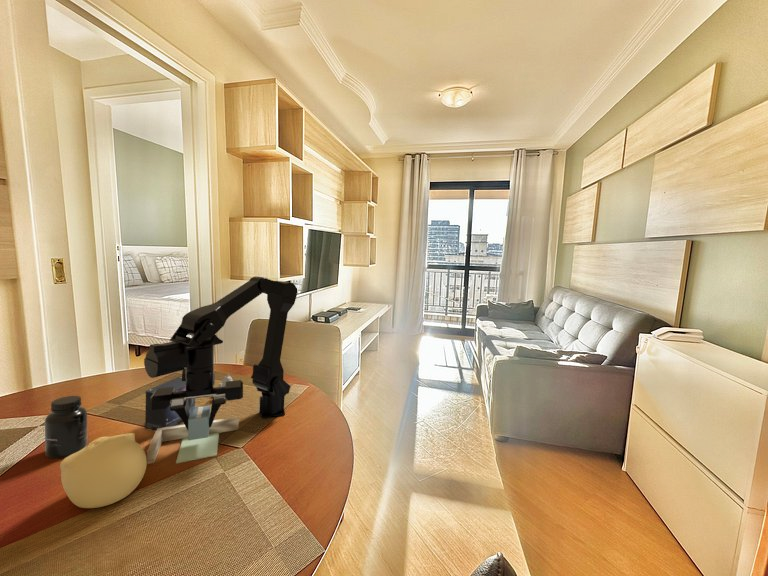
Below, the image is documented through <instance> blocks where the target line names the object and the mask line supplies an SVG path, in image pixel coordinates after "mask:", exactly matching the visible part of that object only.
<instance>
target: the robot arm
mask: <svg viewBox="0 0 768 576" xmlns="http://www.w3.org/2000/svg"><path fill="white" fill-rule="evenodd" d="M262 294H264V295H265V294H266V301H267V304H268V307H269V309H270V310H269V311H270V312H269V317H268V325H267V331H266V335H265V342H264V347H263V348H264V349H263V354H262V358H261V360H260V361H259V362H258V363H256V364H253V366H252V374H251V377H250V379H252V384H253V386H254V387H256V391H258V392H260V393H261V395H260V396H259V398H258V399H259V402H258V405H259V406H258V407H259V408H258V411H259V414H260V415H261V418H262V419H265V418H266V417H267V418H273V417H272V416H274V417H280V416H285V415H286V412H285V411H286V410H285V397H286V395H288V394H289V393H290V391H291V385H290V384H289V383H287V381H285V380H284V371H285V369H284V368H283V364H282V362H281V356H282V350H283V344H284V338H285V331H286V325H287V319H288V314H289V311H291V309H292V308H293V306H294V305H295V303H296V300H297V295H298V287H297V286H296V284H294V283H293V282H289V281H283V280H272V279H270V278H267V277H264V276H253V277H251V278H250V279H248V281H246V282H245V283H244V284H242V285H240V286H238V287H237V288H235V289H234V290H233V291H231V292H230V293H228V294H227V295H225V296H223V297H222V298H220V299H218V300H217V301H216V302H213V303H210V304H207V305H203V306H200V307H197V308H195V309H193V310H192V311H189V312H187V313H185V314H184V316H183V317H182V319H181V323H180V324H179V326H178V327H177V329H176V330H175V332H174V333H173V334H172V336H171V337H170V339H169V342H164V343H163V342H162V343H152V344H150V345H149V350H148V351H147V352H146V353H145V358H144V359H143V360H144V361H143V365H144V369H145V373H146V374H147V375H148V377H149V378H151V379H154V378H158V377H162V376H166V375H170V374H173V373H178V372H180V371H181V378H182V381H186V391H178V392H175V388H174V387H168V388H158V389H156V390H155V391H154V393H153V394H152V396H151V398H150V402H149V409H150V410H157V409H165V408H167V407H168V406H169V405H170V404H171V407H170V411H175V412H176V413H177V414H178V415H179V417H180V418H181V419H182V421H183V422H182V423H183V425H185V426H186V428H187V430H188V419H189V416H190V414H189V406H188V399H192V398H195V399H200V398H208V397H209V398H210V397H212V402H211V406H210V419H209V427H211V425H212V423H213V420H214V419H215V417H216V415H217V413H218V411H219V409H220V408H221V406H222V405H226V403H227V400H228V401H234V400H235V401H237V400H242V399H243V398H244V382H243V381H242V380H241V379H239V380H233V381H227V382H226V386H222V387H218V386H216V387H214V386H215V383H216V382H215V381H216V380H215V379H216V377H215V372H214V371H215V370H214V367H215V364H214V363H215V360H214V359H215V358H214V357H215V356H214V355H215V345H221V344H223V343H224V340H223V339H221V338H219V337H218V335H217V333H218V332H220V330H221V329H223V327H224V326H225V324H226V322H227V320H228V319H229V318H230V317H231V316H232V315H233V314H235V313H237V312H238V311H239V310H241V309H242V308H243V307H245V306H246V305H248V304H249V303H251V302H252V301H253V300H255V299H256V298H257V297H259V296H260V295H262ZM190 336H192V337H190Z"/></svg>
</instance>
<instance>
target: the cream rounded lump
mask: <svg viewBox="0 0 768 576" xmlns="http://www.w3.org/2000/svg"><path fill="white" fill-rule="evenodd" d="M135 436H136V434H135V433H132V432H129V433H124V434H123V433H122V434H118V435H117V434H116V435H113V436H101V437H97V438H95V439H94V440H93V441H91V442H90V443H87V445H86V447H85V448H83V449H82V450H80V451H78V452H76V453H74V454H72V455H70V456H67V457H64V459H63V460H62V461H61V462H60V463H59V467H60V468H59V469H60V471H61V472H60V476H61V477H60V478H61V480H60V481H61V483H62V487H63V490H64V492H65V493H66V495H67V497H68V499H69V500H70V502H72V504H73V505H75V506H76V507H78V508H82V509H95V508H102V507H106V506H109V505H112V504H114V503H116V502H119V501H121V500H123V499H124V498H126V497H127V496H129V495H130V494H131V493H132V492H133V491H135V490H136V488H137V487H139V484H140V483H141V482H142V479H143V478H144V476H145V473H146V470H147V465H148V464H147V454H146V452H145V450H144V448H143V447H142V446H141V445H140V444H139V443H138V442H136V440H135Z"/></svg>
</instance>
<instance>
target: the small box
mask: <svg viewBox="0 0 768 576" xmlns="http://www.w3.org/2000/svg"><path fill="white" fill-rule="evenodd" d="M168 387H174V388H175V392H178V391H186V381H182V377H181V376H180V377H179V376H178V377H175V378H174V379H170V380H169V381H166V382H164V383H162V384H158V385H156V386H155V387H151V388H149V389H146V390H145V415H144V416H145V418H144V419H145V422H144V430H149V431H154V432H156V430H157V428H164V427H171V426H178V425H179V424H180V425H181V424H182V423H183V421H182V419H181V418H180V417H179V415H178V414H177V413H176V412H175V411H170V407H171V404H170V405H169V406H168V407H167V408H165V409H157V410H150V409H149V402H150V398H151V396H152V394H153V393H154V391H155V390H156V389H158V388H168ZM188 406H189V414H190V412H191V409H192V408H195V407H196V398H192V399H188Z"/></svg>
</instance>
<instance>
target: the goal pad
mask: <svg viewBox="0 0 768 576" xmlns="http://www.w3.org/2000/svg"><path fill="white" fill-rule="evenodd" d="M219 435H220V433H219V432H218V433H212V434H209V436H208V437H207V438H201V439H195V440H189V441H188V437H187V438H182V439H181V444H180V447H179V451H178V454H177V456H176V457H177V458H176V461H175V464H181V463H186V462H191V461H195V460H196V461H197V460H202V459H207V458H212V457H217V455H218V447H219V438H220V437H219Z"/></svg>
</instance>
